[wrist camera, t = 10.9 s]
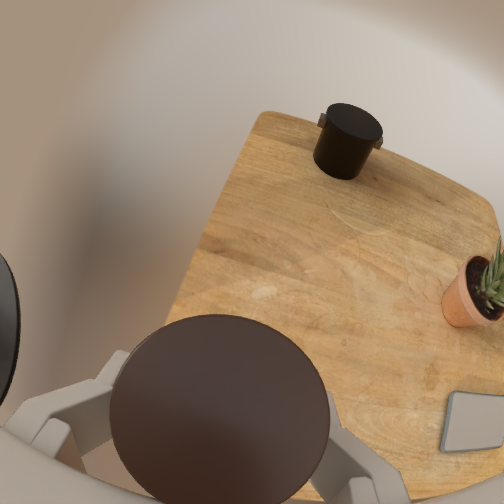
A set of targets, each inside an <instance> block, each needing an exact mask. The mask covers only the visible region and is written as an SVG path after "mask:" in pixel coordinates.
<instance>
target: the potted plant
mask: <svg viewBox="0 0 504 504" xmlns="http://www.w3.org/2000/svg"><path fill="white" fill-rule="evenodd" d="M500 246H501V236H500V238H499V242H498V246H497V251H496V259H495V261H494V263H493V259H494V258H493V254H492V257H491V260H490V259H489V258H487V257H485V256H483V255H478V254H476V255H473V256H470V257H469V258H468V259H467V260H466V261H465V262H464V263H463V264H462V265H461V267H460V269H459V274H458V275H457V277H456V278H455V279H454V281H453V282H452V283H451V285H450V286H449V288H448V289H447V290H446V292H445V293H444V295H443V298H442V309H443V314H444V316H445V318H446V320H447V321H448V323H450V324H451V325H452V326H454V327H464V326H475V325H482V326H492V325H494V324H496V323H497V322H499V321H501V320H502V319H503V318H504V251H503V253H502V255H501V254H500Z"/></svg>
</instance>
